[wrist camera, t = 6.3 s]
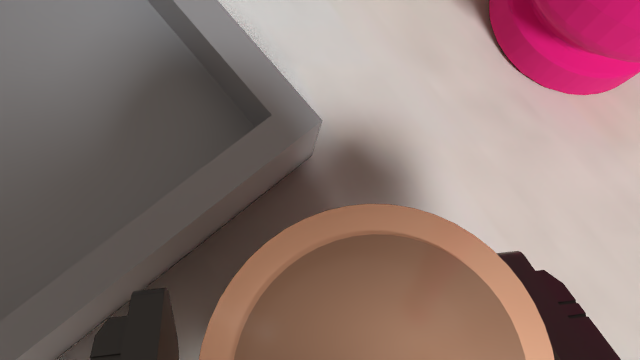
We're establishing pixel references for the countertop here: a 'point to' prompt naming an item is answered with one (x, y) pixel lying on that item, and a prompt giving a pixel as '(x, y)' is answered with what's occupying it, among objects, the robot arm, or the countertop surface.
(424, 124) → the countertop surface
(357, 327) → the terracotta cup
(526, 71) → the pepper mill
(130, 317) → the robot arm
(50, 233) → the charcoal tray
